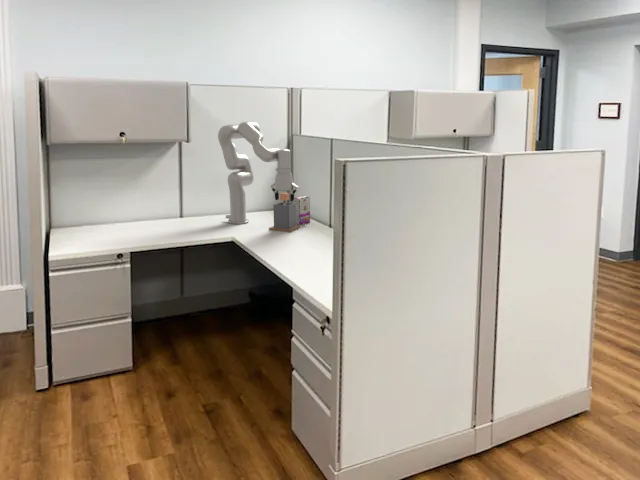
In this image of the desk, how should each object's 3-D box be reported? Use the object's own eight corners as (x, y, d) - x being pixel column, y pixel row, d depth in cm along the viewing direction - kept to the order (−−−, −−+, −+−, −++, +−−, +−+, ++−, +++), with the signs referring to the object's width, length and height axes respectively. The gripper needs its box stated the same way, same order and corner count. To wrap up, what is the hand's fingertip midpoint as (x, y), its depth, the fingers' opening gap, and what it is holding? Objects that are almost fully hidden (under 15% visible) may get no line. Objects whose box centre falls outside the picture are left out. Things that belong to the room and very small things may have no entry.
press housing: (269, 230, 350) (268, 205, 347) (279, 226, 363) (279, 201, 359) (290, 232, 345) (290, 206, 341) (300, 227, 357) (300, 202, 354)
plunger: (276, 226, 351) (275, 193, 347) (282, 224, 358) (281, 191, 354) (288, 227, 349) (287, 194, 344) (293, 225, 355) (292, 192, 351)
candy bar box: (303, 221, 377) (303, 195, 373) (310, 222, 374) (310, 196, 371) (293, 224, 368) (292, 197, 364) (299, 225, 365) (299, 198, 362)
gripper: (267, 171, 346) (268, 200, 350) (295, 172, 340) (295, 202, 343) (273, 169, 353) (274, 198, 356) (300, 170, 346) (300, 200, 350)
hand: (284, 200), depth 350 cm, fingers open, 9 cm apart
